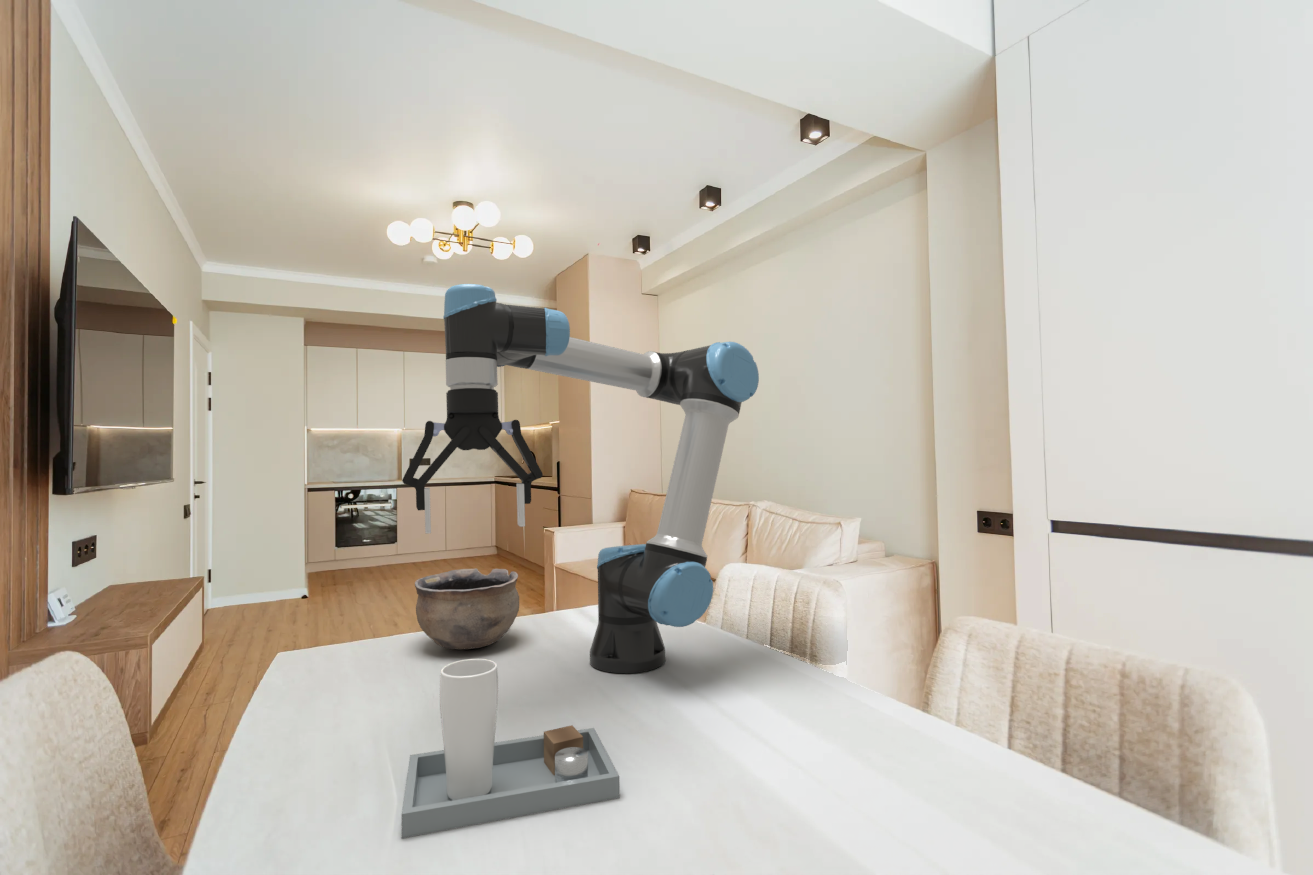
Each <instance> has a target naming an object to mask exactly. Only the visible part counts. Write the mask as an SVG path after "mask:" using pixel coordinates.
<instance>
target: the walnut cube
mask: <svg viewBox="0 0 1313 875" xmlns="http://www.w3.org/2000/svg"><path fill="white" fill-rule="evenodd" d="M577 730H578V729H576V728H575V727H574V726H573V724H572V725H567V726H563V727H559V728H554V729H550V730H545V731H543V735H544V763H545V764H546V766H547V767H548V769H549V770H550V771H551V773H552V774H553V775H555V754H556V753H557V752H558V751H560V750H562V749H564V748H569V747H578V748H583V736H582V735H581V734H580V733H579V732H578V731H577Z"/></svg>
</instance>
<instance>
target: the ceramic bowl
mask: <svg viewBox="0 0 1313 875" xmlns="http://www.w3.org/2000/svg"><path fill="white" fill-rule="evenodd" d="M518 577H519V574H518V573H517V571H510V573H509V570H508V569H506V568H493V569H491V571H490V572H489V573H488V574H485V573H484V574H483V573H482V572H480V571H479V569H478V568H461V569H460V568H459V569H453V570H449V571H445V572H440V573H436V574H431V575H426V576H424V577H421V578H418V579H416V580H415V581H414V588H415V589H416V594H417V599H416V605H415V613H416V619H417V623H418V625H419V628H421V631H423V633H424V634H425V635H426V636H427V637H429V638H430V639H431V640H432V641H433V642H434V643H435V644H436V645H438V646H440V647H443V648H445V649H450V650H472V649H479V648H484V647H487V646H490V645H493V644H494V643H496V642H498V641H499V640H500V639H501V638H502V637H503V636H504V635H505V634H507V632H508V631H509V630H510V628H511V627H512V626H513V624H514V623H515V620H516V618H517V617H518V614H519V611H520V595H519V593H518V590H517V587H516V586H517V581H518Z"/></svg>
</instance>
